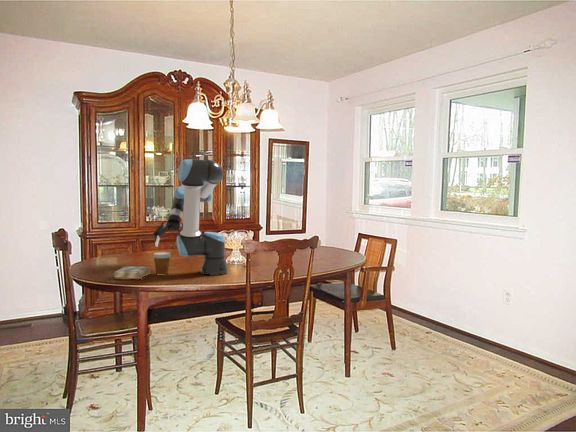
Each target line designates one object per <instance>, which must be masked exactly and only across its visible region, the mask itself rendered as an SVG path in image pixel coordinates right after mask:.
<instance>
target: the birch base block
mask: <svg viewBox="0 0 576 432" xmlns="http://www.w3.org/2000/svg"><path fill="white" fill-rule="evenodd" d="M148 273H150V274H151V268H150V266H126V265H125V266H123V267H121V268H120V269H117V270H115V271H113V277H125V278H141V277H143V276H145V275H146V274H148Z"/></svg>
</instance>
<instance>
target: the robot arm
mask: <svg viewBox="0 0 576 432" xmlns="http://www.w3.org/2000/svg"><path fill="white" fill-rule="evenodd" d="M224 175H225V173H224V169H223V167H222V165H220V164H219V162H217V161H215V160H213V159H212V160H211V159H195V158H194V159H193V158H190V159H182V161H181V162H180V164H179V167H178V177H177V178H178V181H179V182H181V186H177V188H175V192H174V195H173V200H172V204H171V209H170V212H169V215H168V219H167V223H164V222H161V224H160V225H159V226H158V227H157V228H156V230H155V231H154V232H153V234H152V235H153V237H154V245H155V248H158V246H159V242H160V240H161V237H162V236H163V235H164V234H166V233H167V232H175V231H176V232H177V233H178V234H179V235H177V236H176V240H175V241H176V246H177V252H178V254H179V256H181V257H199V256H202V257H203V262H202V265H201V267H200V274H202V273H204V274H210V275H209V276H219V275H218V274H223V275H226V274H228V273H229V272H228V271H229V270H228V269H229V268H228V265H227V263H226V258H225V255H226V252H225V251H226V240H225V239H226V238H225V235H224V234H223V233H220V232H215V231H204V233H203V234H202V231H200V207H201V203H209V202H210V201H211V200H212V192H213V191H214V189H215V187H216V186H217V185H218V184H220V183H221V182H222V180H223V179H224ZM182 221H183V222H182ZM181 222H182V223H181ZM180 228H182V230H180ZM227 272H228V273H227ZM225 273H226V274H225ZM204 274H203V275H204Z"/></svg>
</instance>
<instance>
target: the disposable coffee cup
mask: <svg viewBox="0 0 576 432" xmlns="http://www.w3.org/2000/svg"><path fill="white" fill-rule="evenodd" d="M171 256H172V254H171V252H169V251H158V252H154V253H153V257H152V258H153V261H154V266H155V272H156V273H157V274H167V273H168V274H169V269H170V259H171Z"/></svg>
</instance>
